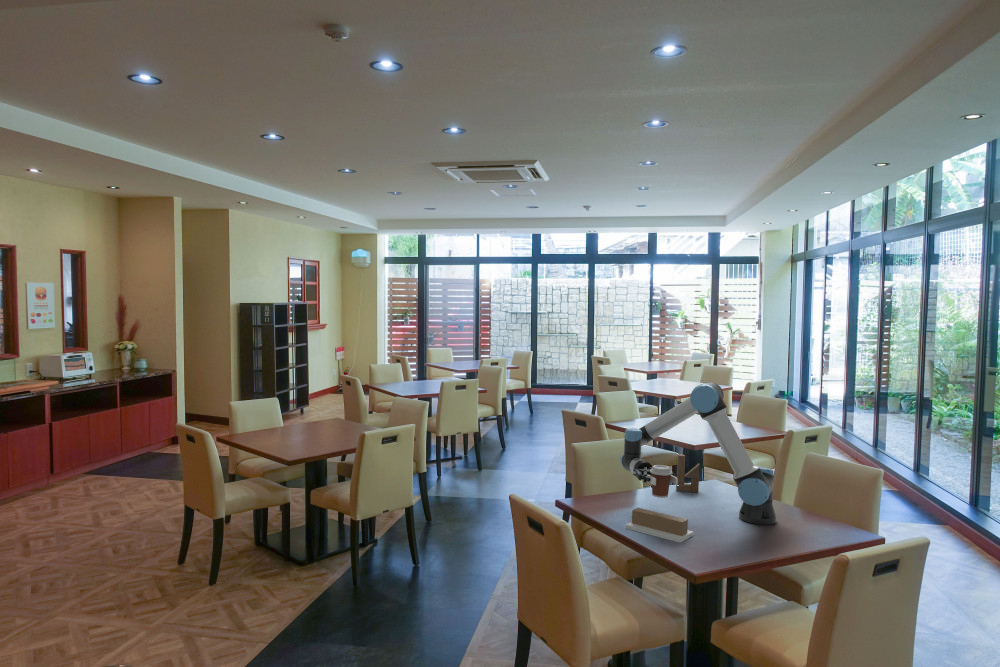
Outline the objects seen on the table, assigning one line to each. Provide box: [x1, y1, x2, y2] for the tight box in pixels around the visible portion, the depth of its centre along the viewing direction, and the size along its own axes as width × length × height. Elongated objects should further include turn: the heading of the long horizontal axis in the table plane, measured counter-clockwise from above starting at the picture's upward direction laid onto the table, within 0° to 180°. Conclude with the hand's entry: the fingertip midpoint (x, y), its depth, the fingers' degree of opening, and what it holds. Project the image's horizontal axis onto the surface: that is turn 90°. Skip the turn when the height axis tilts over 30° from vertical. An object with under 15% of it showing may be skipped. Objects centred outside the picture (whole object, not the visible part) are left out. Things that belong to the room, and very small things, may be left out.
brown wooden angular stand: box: [675, 454, 700, 494], centre depth 327 cm, size 4×11×18 cm, turn 76°
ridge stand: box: [624, 507, 694, 544], centre depth 263 cm, size 24×12×7 cm, turn 50°
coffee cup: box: [650, 464, 673, 499], centre depth 269 cm, size 9×9×12 cm
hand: (665, 481), depth 265 cm, fingers closed on coffee cup, 9 cm apart
